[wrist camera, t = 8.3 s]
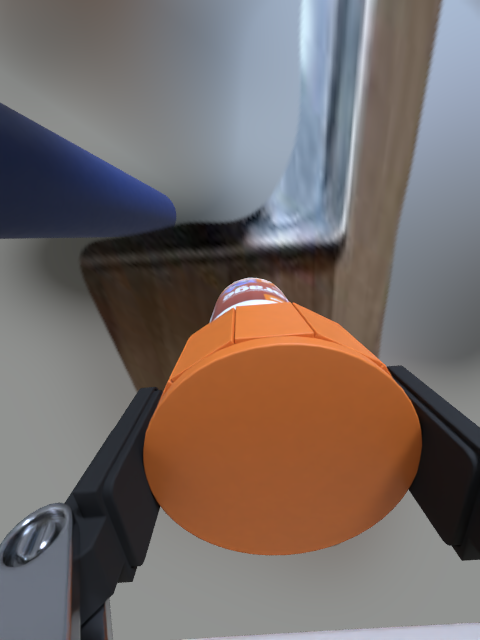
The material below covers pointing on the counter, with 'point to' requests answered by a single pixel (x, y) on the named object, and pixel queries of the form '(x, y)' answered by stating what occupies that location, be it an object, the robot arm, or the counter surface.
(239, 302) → the pill bottle
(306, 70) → the counter surface
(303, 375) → the cap
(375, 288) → the counter surface
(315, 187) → the counter surface
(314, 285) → the counter surface
